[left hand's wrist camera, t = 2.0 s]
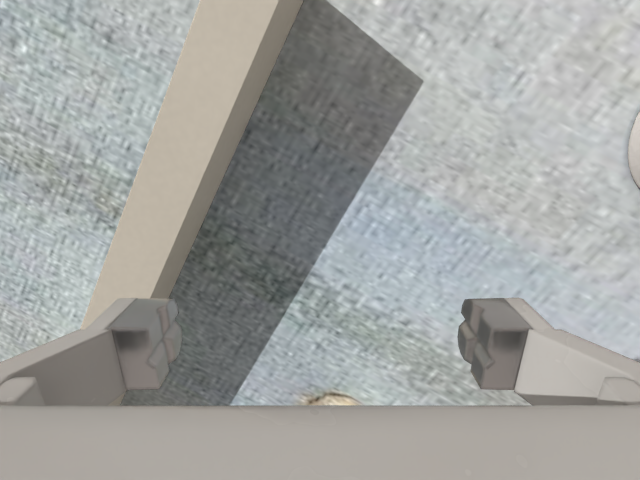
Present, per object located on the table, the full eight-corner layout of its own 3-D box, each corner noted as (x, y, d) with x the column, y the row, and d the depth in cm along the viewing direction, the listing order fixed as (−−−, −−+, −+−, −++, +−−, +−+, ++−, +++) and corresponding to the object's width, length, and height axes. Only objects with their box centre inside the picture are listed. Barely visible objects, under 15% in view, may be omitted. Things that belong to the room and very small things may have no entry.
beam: (261, -45, 30) (236, -100, 22) (310, -14, 31) (303, -56, 22) (77, 411, 48) (27, 473, 40) (111, 424, 49) (68, 488, 41)
